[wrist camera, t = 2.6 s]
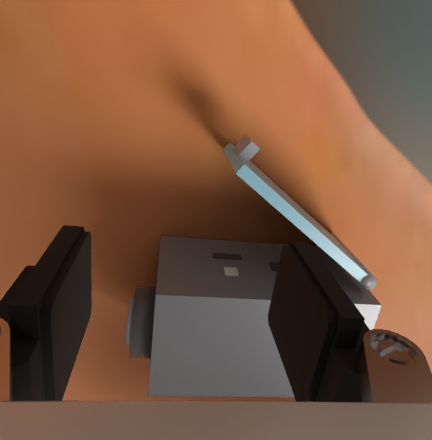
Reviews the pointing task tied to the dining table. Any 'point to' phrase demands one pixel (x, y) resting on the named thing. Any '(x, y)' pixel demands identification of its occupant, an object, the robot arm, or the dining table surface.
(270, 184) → the side door
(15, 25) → the dining table surface
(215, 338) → the camera body
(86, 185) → the dining table surface
